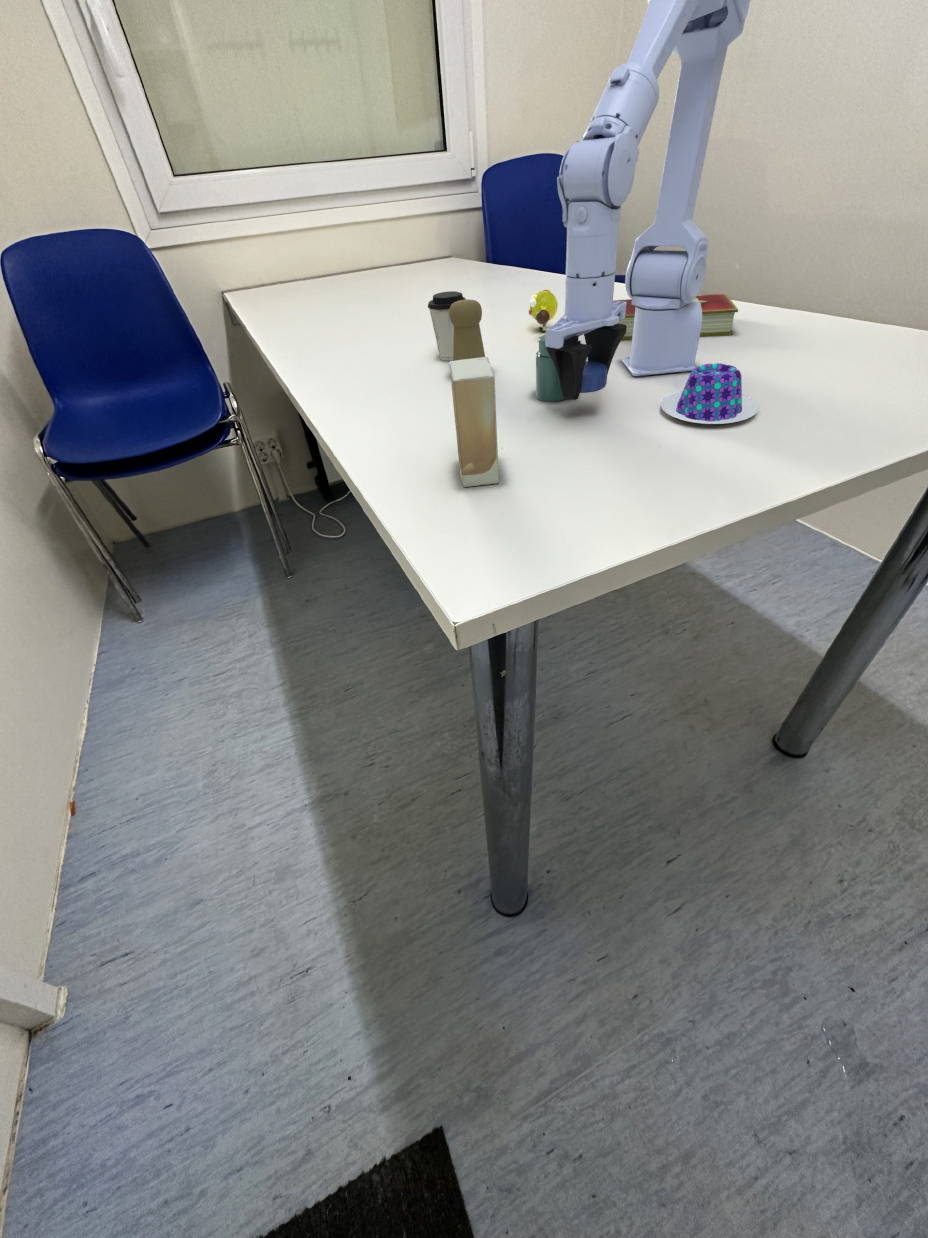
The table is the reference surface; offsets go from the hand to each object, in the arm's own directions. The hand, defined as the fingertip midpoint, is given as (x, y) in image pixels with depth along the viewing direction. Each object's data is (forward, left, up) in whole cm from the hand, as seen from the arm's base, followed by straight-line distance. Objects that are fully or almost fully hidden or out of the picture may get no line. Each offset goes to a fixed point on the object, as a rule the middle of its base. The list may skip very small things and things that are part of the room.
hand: (583, 390), depth 73 cm
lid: (0, 0, +3) cm, 3 cm away
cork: (+15, -21, -3) cm, 26 cm away
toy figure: (0, -43, -3) cm, 43 cm away
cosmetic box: (+15, +15, -3) cm, 21 cm away
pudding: (-16, +3, -3) cm, 17 cm away
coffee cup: (+18, -32, -3) cm, 37 cm away
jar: (+3, -8, -3) cm, 9 cm away
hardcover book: (-22, -36, -3) cm, 42 cm away
